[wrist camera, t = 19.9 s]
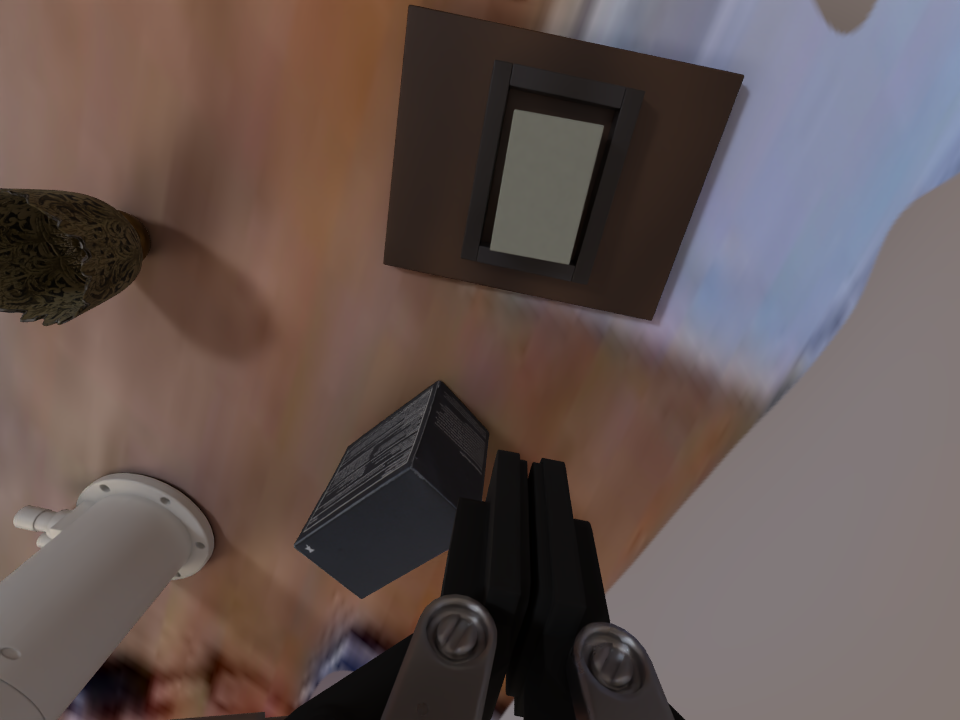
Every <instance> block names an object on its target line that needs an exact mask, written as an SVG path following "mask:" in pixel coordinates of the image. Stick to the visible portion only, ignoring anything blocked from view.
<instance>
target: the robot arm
mask: <svg viewBox="0 0 960 720" xmlns="http://www.w3.org/2000/svg"><path fill="white" fill-rule="evenodd" d="M13 524H14V526H15V527H17V528H21V529H26V530H31V531H36V532H37V531H42V532H44V533H43V534H41V535H40V537H39V538H38V540H37V546H38V547H41V549H40V550H39V551H38V552H36V553H35V554H34V555H33V556H31V557H30V558H29V559H28V560H27V561H25V562H24V563H23V564H22V565H21V566H19V567H18V568H17V569H16V570H15V571H13V572H12V573H11V574H10V575H9V576H7V577H6V578H5V579H4V580H3V581H1V582H0V720H57V719H58V718H59V717H60V716H61V715H62V713H63V712H64V711H65V710H66V708H67V707H68V706H69V705H70V703H71V702H72V701H73V700H74V699H75V697H76V696H77V695H78V694H79V692H80V691H81V690H82V689H83V688H84V686H85V685H86V684H87V683H88V681H89V680H90V679H91V678H92V677H93V675H94V674H95V673H96V672H97V670H98V669H99V668H100V667H101V665H102V664H103V663H104V662H105V661H106V659H107V658H108V657H109V656H110V654H111V653H112V652H113V651H114V650H115V648H116V647H117V646H118V645H119V643H120V642H121V641H122V640H123V639H124V637H125V636H126V635H127V634H128V632H129V631H130V630H131V629H132V628H133V626H134V625H135V624H136V623H137V621H138V620H139V619H140V618H141V616H142V615H143V614H144V613H145V612H146V610H147V609H148V608H149V607H150V605H151V604H152V603H153V602H154V601H155V599H156V598H157V597H158V596H159V594H160V593H161V592H162V591H163V590H164V588H165V587H166V586H167V585H168V583H169V582H170V581H171V580H176V579H183V578H186V577H189V576H192V575H194V574H195V573H197V572H198V571H200V570H201V569H202V567H203V566H204V565H205V564H206V563H207V561H208V560H209V558H210V557H211V555H212V553H213V549H214V536H213V532H212V529H211V526H210V524H209V522H208V520H207V518H206V517H205V515H204V514H203V513H202V511H201V510H200V509H199V508H198V507H197V506H196V505H195V504H194V503H193V502H192V501H191V500H190V499H189V498H188V497H187V496H185V495H184V494H183V493H181V492H180V491H178V490H177V489H175V488H173V487H172V486H170V485H168V484H166V483H164V482H161V481H159V480H157V479H154V478H151V477H147V476H144V475H139V474H131V473H115V474H110V475H105V476H103V477H101V478H99V479H97V480H95V481H94V482H93V483H92V484H90V485H89V486H88V487H86V488H85V489H84V490H83V492H82V493H81V494H80V495H79V498H78V501H77V505H76V508H75V509H73V510H68V509H66V510H61V511H59V512H54V511H52V510H49V509H44V508H40V507H35V506H30V505H29V506H25V507H23V508H22V509H20V510H19V511H18V513H17V514H16V515H15V517H14V520H13ZM505 674H506V695H508V696H513V697H514V715H515V716H520V717H524V720H685V719H684V718H683V717H682V716H681V715H680V714H679V713H678V712H677V711H676V710H675V709H674V708H673V707H672V706H671V705H670V704H669V703H668V702H667V699H666V697H665V694H664V692H663V689H662V687H661V684H660V682H659V679H658V677H657V674H656V672H655V669H654V666H653V664H652V661H651V660H650V658H649V656H648V654H647V653H646V650H645V649H644V647H643V646H642V645H641V644H640V643H639V641H638V640H637V639H636V638H635V637H634V636H632V635H631V634H630V633H628V632H627V631H626V630H625V629H622V628H621V627H618V626H616V625H614V624H611V623H610V619H609V614H608V609H607V604H606V599H605V593H604V588H603V583H602V578H601V573H600V568H599V563H598V558H597V552H596V547H595V542H594V537H593V532H592V528H591V524H590V523H589V522H588V521H583V520H578V519H573V513H572V507H571V500H570V493H569V487H568V480H567V473H566V467H565V463H564V462H561V461H556V460H551V459H546V458H542V459H541V461H540V463H535V462H533V463H532V466H531V469H530V473H529V476H528V471H527V461H525V460H520V454H519V453H514V452H509V451H504V450H498V451H497V454H496V458H495V463H494V467H493V471H492V476H491V480H490V484H489V488H488V493H487V497H486V501H485V502H483V501H478V500H473V499H467V498H462V497H459V499H458V504H457V509H456V514H455V519H454V524H453V529H452V535H451V540H450V545H449V551H448V556H447V562H446V568H445V574H444V579H443V585H442V591H441V597H440V598H437V599H435V600H433V601H432V602H431V603H430V604H429V605H428V606H426V607H425V609H424V611H423V613H422V614H421V616H420V618H419V620H418V623H417V626H416V628H415V631H414V633H413V634H411V635H410V636H408V637H407V638H405V639H404V640H402V641H400V642H399V643H397V644H396V645H394V646H393V647H391V648H390V649H388V650H387V651H385V652H383V653H382V654H380V655H379V656H377V657H376V658H374V659H373V660H371V661H369V662H368V663H366V664H365V665H363V666H362V667H360V668H359V669H357V670H356V671H354V672H352V673H351V674H349V675H348V676H346V677H345V678H343V679H342V680H340V681H339V682H337V683H336V684H334V685H333V686H331V687H330V688H328V689H326V690H325V691H323V692H322V693H320V694H318V695H317V696H315V697H314V698H312V699H311V700H309V701H308V702H306V703H304V704H303V705H301V706H300V707H298V708H297V709H296V710H295V711H294V712H292V713H291V714H290V715H289V716H281V717H269V718H265V712H258V713H246V714H234V715H221V716H209V717H197V718H185V719H172V720H490V719H491V717H492V714H493V711H494V708H495V705H496V702H497V699H498V696H499V693H500V690H501V687H502V684H503V681H504V678H505Z"/></svg>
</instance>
